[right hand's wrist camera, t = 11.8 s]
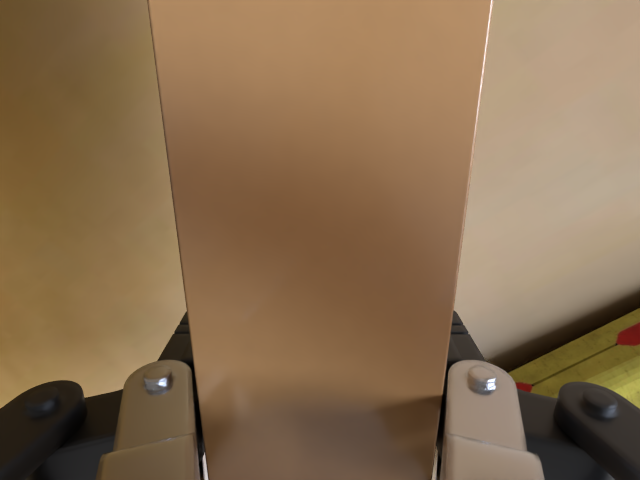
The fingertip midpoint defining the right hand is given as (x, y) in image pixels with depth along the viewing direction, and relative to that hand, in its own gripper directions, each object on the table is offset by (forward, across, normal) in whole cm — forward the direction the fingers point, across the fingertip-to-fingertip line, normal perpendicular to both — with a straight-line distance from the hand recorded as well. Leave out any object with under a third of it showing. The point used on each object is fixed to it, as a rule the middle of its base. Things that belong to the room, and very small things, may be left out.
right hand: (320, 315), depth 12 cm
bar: (+3, 0, -26) cm, 27 cm away
